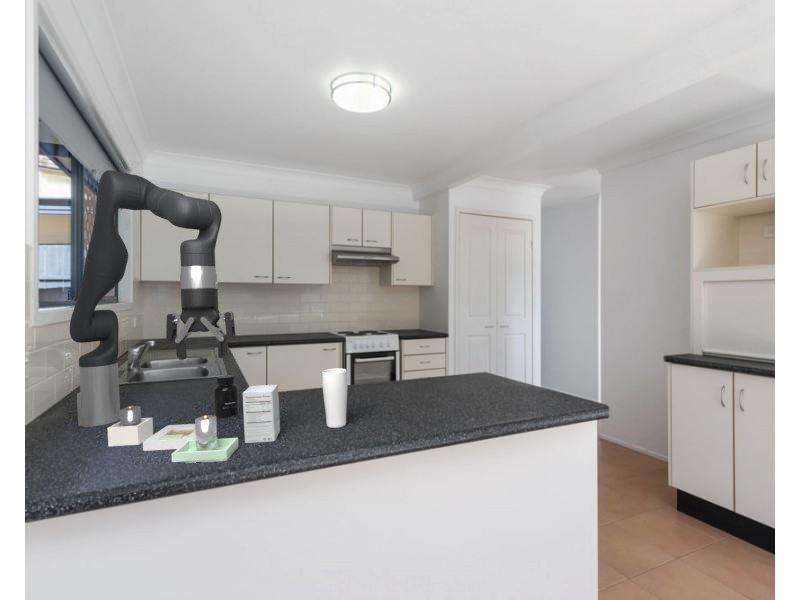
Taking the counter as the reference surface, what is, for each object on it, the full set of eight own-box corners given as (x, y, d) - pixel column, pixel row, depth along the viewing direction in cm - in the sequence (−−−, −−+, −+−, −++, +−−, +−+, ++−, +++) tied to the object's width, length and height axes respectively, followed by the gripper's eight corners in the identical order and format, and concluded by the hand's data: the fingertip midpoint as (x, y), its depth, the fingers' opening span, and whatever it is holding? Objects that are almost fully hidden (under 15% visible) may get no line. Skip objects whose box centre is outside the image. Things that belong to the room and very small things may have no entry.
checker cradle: (143, 452, 97) (142, 439, 97) (168, 435, 109) (167, 423, 109) (196, 449, 98) (195, 436, 97) (215, 432, 110) (214, 420, 109)
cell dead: (117, 444, 102) (115, 409, 102) (127, 437, 106) (126, 404, 106) (135, 442, 102) (134, 408, 102) (145, 436, 106) (143, 403, 106)
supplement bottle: (230, 419, 120) (228, 378, 120) (209, 419, 122) (207, 378, 121) (243, 412, 127) (242, 374, 127) (223, 412, 128) (222, 373, 128)
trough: (172, 464, 89) (171, 453, 89) (188, 450, 97) (187, 440, 97) (226, 460, 90) (226, 450, 90) (238, 447, 98) (238, 437, 98)
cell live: (193, 457, 91) (191, 419, 91) (201, 450, 96) (199, 413, 96) (213, 456, 92) (211, 418, 92) (220, 448, 96) (219, 412, 96)
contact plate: (163, 443, 100) (163, 439, 100) (174, 434, 106) (174, 431, 106) (188, 441, 100) (187, 437, 100) (198, 433, 106) (197, 429, 106)
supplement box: (252, 433, 108) (250, 385, 108) (280, 431, 109) (279, 383, 108) (243, 443, 101) (241, 392, 100) (274, 441, 101) (272, 390, 101)
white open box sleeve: (108, 448, 100) (107, 427, 100) (125, 438, 107) (124, 419, 107) (138, 446, 101) (137, 426, 101) (153, 436, 108) (152, 417, 108)
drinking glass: (328, 431, 107) (326, 374, 107) (320, 424, 113) (318, 370, 113) (352, 426, 110) (350, 371, 110) (344, 420, 116) (342, 367, 116)
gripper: (158, 287, 89) (161, 363, 89) (225, 285, 90) (229, 360, 90) (174, 288, 96) (177, 357, 97) (237, 286, 97) (239, 354, 98)
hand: (202, 358), depth 93 cm, fingers open, 8 cm apart
